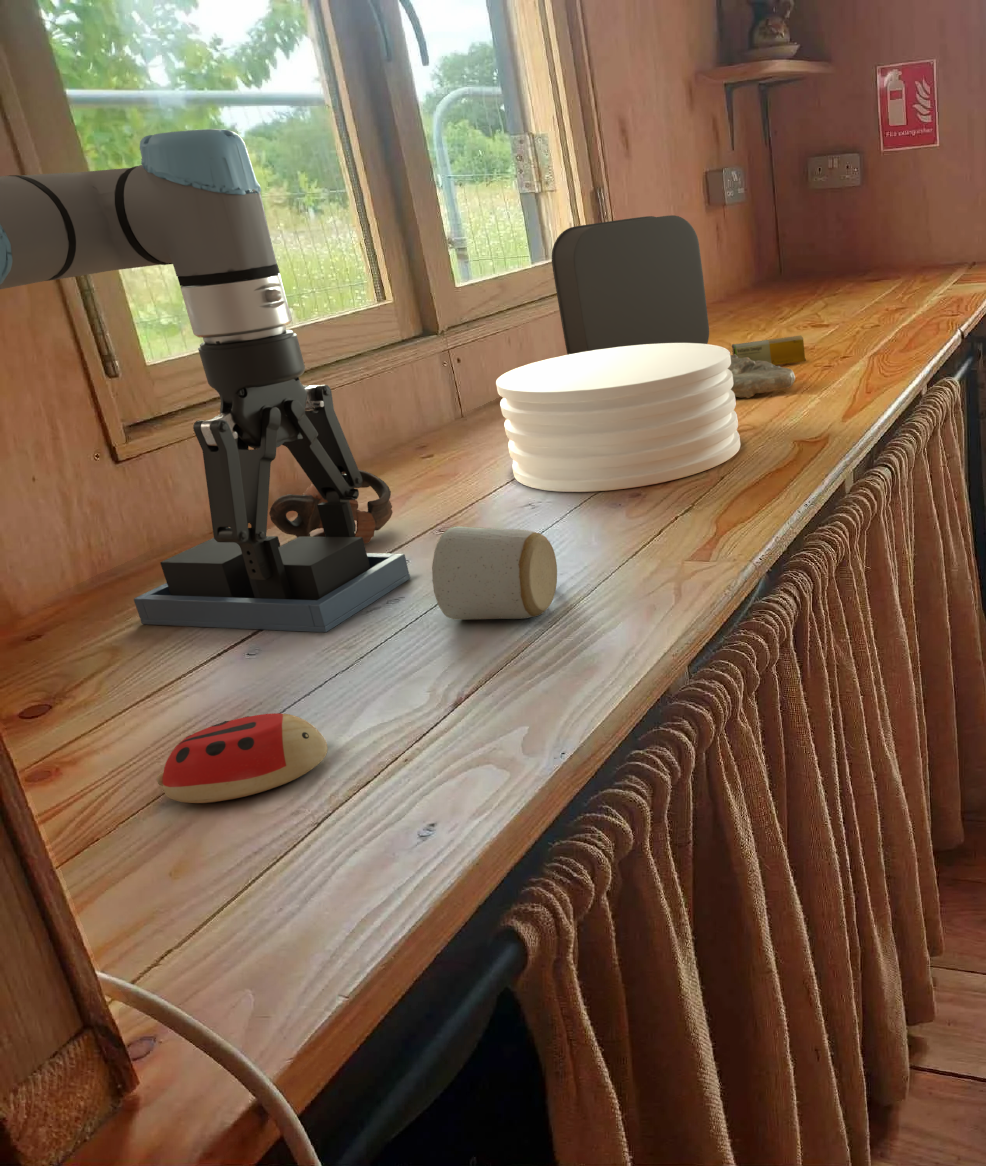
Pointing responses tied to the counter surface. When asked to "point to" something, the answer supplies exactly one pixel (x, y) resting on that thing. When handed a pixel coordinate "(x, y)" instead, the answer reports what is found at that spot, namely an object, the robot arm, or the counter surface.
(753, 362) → the elongated rock
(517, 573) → the ceramic mug
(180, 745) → the ladybug figurine
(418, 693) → the counter surface
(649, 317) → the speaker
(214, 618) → the pad tray
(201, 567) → the seated pad
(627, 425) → the plate stack
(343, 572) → the loose pad
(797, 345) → the medication box
